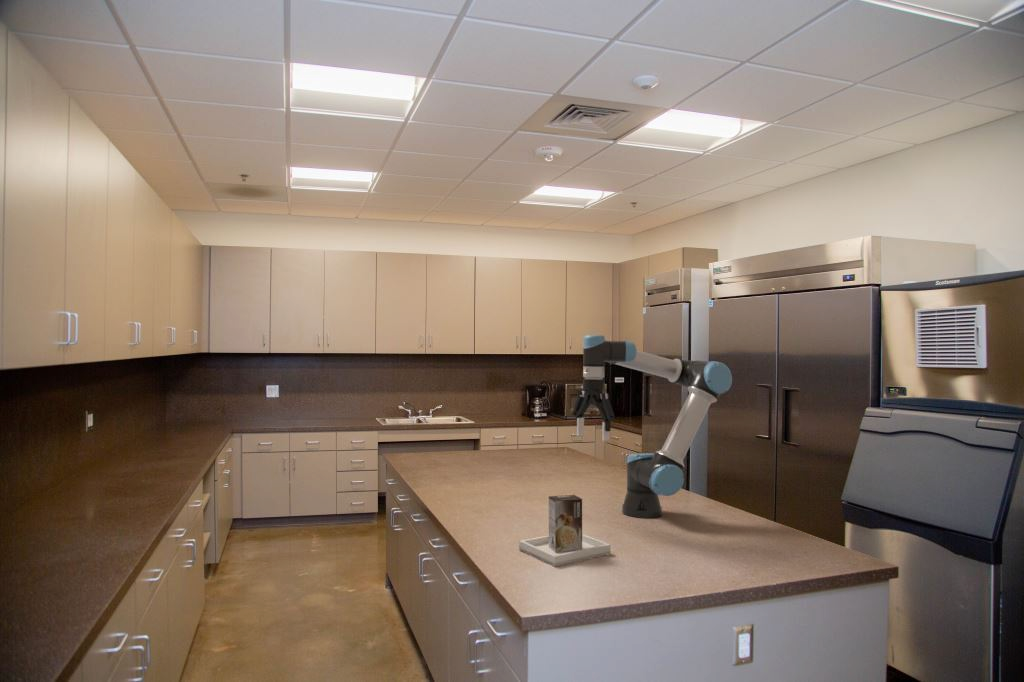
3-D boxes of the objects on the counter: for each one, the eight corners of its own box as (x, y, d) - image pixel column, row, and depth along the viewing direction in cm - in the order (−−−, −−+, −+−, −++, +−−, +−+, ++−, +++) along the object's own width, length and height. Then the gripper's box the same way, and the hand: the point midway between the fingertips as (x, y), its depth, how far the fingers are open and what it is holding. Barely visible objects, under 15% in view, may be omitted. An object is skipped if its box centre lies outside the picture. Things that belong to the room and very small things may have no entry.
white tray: (519, 550, 206) (519, 540, 206) (573, 539, 218) (573, 530, 218) (554, 567, 191) (554, 556, 191) (610, 554, 203) (610, 544, 203)
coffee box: (574, 544, 209) (575, 494, 209) (582, 550, 203) (583, 498, 203) (547, 546, 207) (548, 495, 207) (554, 553, 201) (555, 500, 201)
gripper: (563, 376, 242) (562, 434, 242) (609, 380, 221) (608, 443, 221) (579, 376, 246) (578, 433, 246) (625, 380, 225) (625, 441, 225)
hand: (592, 438), depth 233 cm, fingers open, 13 cm apart
